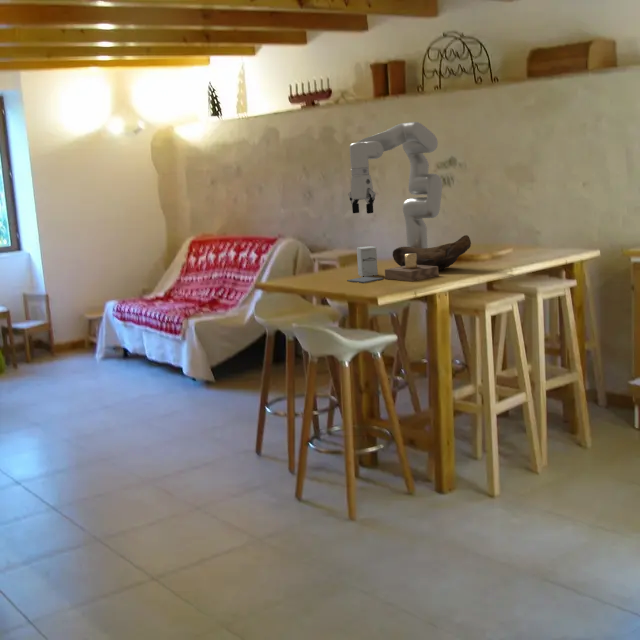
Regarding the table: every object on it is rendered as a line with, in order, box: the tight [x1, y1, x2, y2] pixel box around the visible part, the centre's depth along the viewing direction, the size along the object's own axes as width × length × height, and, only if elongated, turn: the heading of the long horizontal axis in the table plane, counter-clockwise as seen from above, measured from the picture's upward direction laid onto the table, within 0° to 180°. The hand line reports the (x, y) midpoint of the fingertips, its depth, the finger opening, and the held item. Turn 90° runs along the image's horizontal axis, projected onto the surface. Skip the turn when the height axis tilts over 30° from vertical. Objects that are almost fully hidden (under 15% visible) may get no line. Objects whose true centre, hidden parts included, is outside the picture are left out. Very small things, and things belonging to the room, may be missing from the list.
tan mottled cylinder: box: [405, 253, 417, 269], centre depth 350 cm, size 5×5×10 cm
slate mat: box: [346, 276, 384, 284], centre depth 352 cm, size 11×11×1 cm
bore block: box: [384, 265, 439, 282], centre depth 350 cm, size 16×16×4 cm
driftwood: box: [392, 234, 472, 271], centre depth 367 cm, size 37×18×15 cm, turn 44°
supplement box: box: [356, 245, 379, 277], centre depth 366 cm, size 7×7×13 cm
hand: (363, 213), depth 351 cm, fingers open, 9 cm apart
